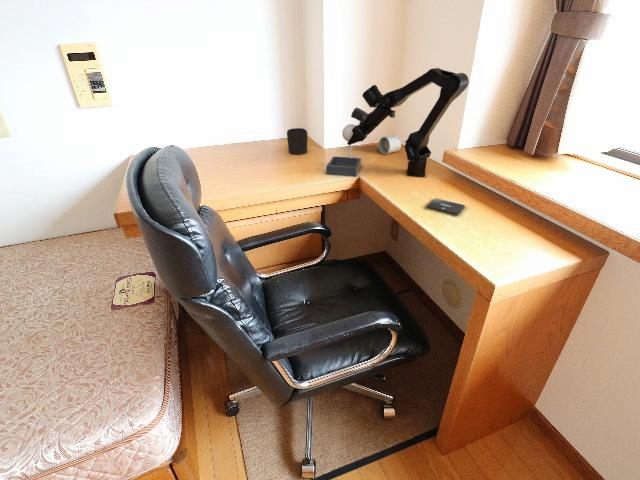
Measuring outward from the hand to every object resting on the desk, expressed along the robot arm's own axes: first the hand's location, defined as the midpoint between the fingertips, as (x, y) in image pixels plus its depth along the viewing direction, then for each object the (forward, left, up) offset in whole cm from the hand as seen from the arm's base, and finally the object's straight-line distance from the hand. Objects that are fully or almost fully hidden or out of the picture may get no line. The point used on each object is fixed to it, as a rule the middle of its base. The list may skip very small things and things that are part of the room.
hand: (350, 142), depth 150 cm
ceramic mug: (-15, -15, -8) cm, 23 cm away
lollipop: (0, 0, -8) cm, 8 cm away
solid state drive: (-39, +40, -8) cm, 56 cm away
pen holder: (+26, -6, -8) cm, 28 cm away
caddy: (0, +13, -8) cm, 15 cm away
